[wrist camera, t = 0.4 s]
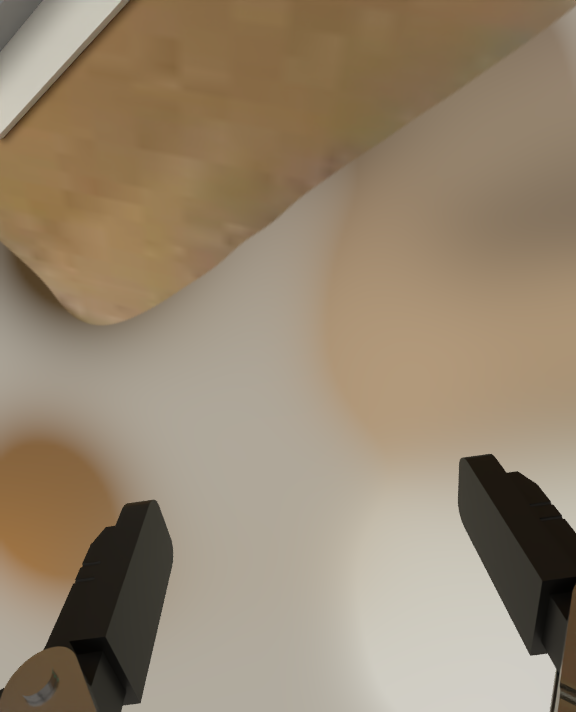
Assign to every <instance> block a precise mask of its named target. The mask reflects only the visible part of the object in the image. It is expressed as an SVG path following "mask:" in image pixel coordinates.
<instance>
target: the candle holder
mask: <svg viewBox="0 0 576 712" xmlns="http://www.w3.org/2000/svg"><path fill="white" fill-rule="evenodd" d="M128 1H129V0H0V139H1V138H4V136H5V135H6V134H7V133H8V132H9V131H10V130H11V129H12V128H13V127H14V126H15V124H16V123H17V122H18V121H19V120H20V119H21V118H22V117H23V116H24V115H25V114H26V113H27V111H28V110H29V109H30V108H31V107H32V106H33V105H34V104H35V103H36V102H37V101H38V99H39V98H40V97H41V96H42V95H43V94H44V93H45V92H46V91H47V90H48V89H49V87H50V86H51V85H52V84H53V83H54V82H55V81H56V80H57V79H58V78H59V77H60V75H61V74H62V73H63V72H64V71H65V70H66V69H67V68H68V67H69V66H70V65H71V64H72V62H73V61H74V60H75V59H76V58H77V57H78V56H79V55H80V54H81V53H82V52H83V50H84V49H85V48H86V47H87V46H88V45H89V44H90V43H91V42H92V41H93V40H94V38H95V37H96V36H97V35H98V34H99V33H100V32H101V31H102V30H103V29H104V28H105V26H106V25H107V24H108V23H109V22H110V21H111V20H112V19H113V18H114V17H115V16H116V15H117V13H118V12H119V11H120V10H121V9H122V8H123V7H124V6H125V5H126V4H127V3H128Z"/></svg>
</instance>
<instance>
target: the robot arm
mask: <svg viewBox="0 0 576 712" xmlns="http://www.w3.org/2000/svg"><path fill="white" fill-rule="evenodd" d="M458 488H459V489H458V507H459V512H460V516H461V520H462V523H463V525H464V527H465V529H466V531H467V533H468V535H469V537H470V539H471V541H472V543H473V545H474V547H475V549H476V551H477V553H478V555H479V557H480V558H481V560H482V562H483V564H484V566H485V568H486V570H487V572H488V574H489V576H490V578H491V580H492V582H493V584H494V586H495V588H496V590H497V591H498V594H499V596H500V598H501V599H502V601H503V603H504V605H505V607H506V609H507V611H508V613H509V615H510V617H511V619H512V621H513V622H514V625H515V627H516V629H517V631H518V632H519V634H520V637H521V638H522V640H523V642H524V644H525V646H526V648H527V650H528V652H529V654H530V655H539V654H547V653H548V655H549V656H550V658H551V660H552V662H553V663H554V665H555V667H556V674H555V680H554V686H553V694H552V700H551V707H550V712H576V533H575V531H574V530H573V529H572V528H571V526H570V525H569V524H568V523H567V521H566V520H565V519H563V518H562V515H561V514H560V513H559V511H558V510H557V509H556V507H555V506H554V505H551V501H550V500H549V499H548V497H547V496H546V495H545V494H544V492H543V491H542V490H541V489H540V487H539V486H538V485H537V484H536V483H534V482H532V481H531V480H530V479H528V478H526V477H525V476H524V475H522V474H521V473H519V472H518V471H517V472H509V473H506V472H505V470H504V469H503V467H502V466H501V465H500V464H499V462H498V460H497V459H496V458H495V457H494V456H493V455H492V454H486V455H479V456H471V457H465V458H461V459H460V462H459V486H458ZM172 563H173V546H172V541H171V538H170V535H169V532H168V529H167V527H166V524H165V521H164V518H163V516H162V513H161V510H160V507H159V505H158V503H157V501H156V500H149V501H142V502H135V503H127V504H126V505H124V507H123V508H122V511H121V513H120V516H119V518H118V521H117V523H116V526H111V527H106V528H105V529H104V530H103V531H102V532H101V533H100V535H99V536H98V537H97V538H96V539H95V541H94V542H93V543H92V544H91V545H90V548H89V550H88V553H87V554H86V557H85V559H84V561H83V567H81V568H80V570H79V572H78V575H77V577H76V579H75V580H76V582H75V584H73V586H72V588H71V590H70V592H69V595H68V597H67V599H66V601H65V604H64V606H63V608H62V610H61V613H60V615H59V617H58V619H57V622H56V624H55V626H54V628H53V631H52V633H51V635H50V637H49V640H48V642H47V644H46V646H45V648H44V650H43V651H41V652H39V653H37V654H35V655H34V656H32V657H31V658H30V659H28V660H27V661H26V662H25V663H24V664H23V665H22V666H20V667H19V668H18V670H17V671H16V672H15V673H14V674H13V676H12V677H11V678H10V680H9V681H8V683H7V685H6V686H5V688H3V689H1V690H0V712H121V710H122V706H123V705H130V704H138V703H141V699H142V694H143V690H144V685H145V681H146V676H147V672H148V668H149V664H150V659H151V655H152V651H153V646H154V642H155V638H156V633H157V629H158V625H159V620H160V616H161V612H162V607H163V603H164V598H165V594H166V589H167V585H168V581H169V577H170V573H171V568H172Z"/></svg>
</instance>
